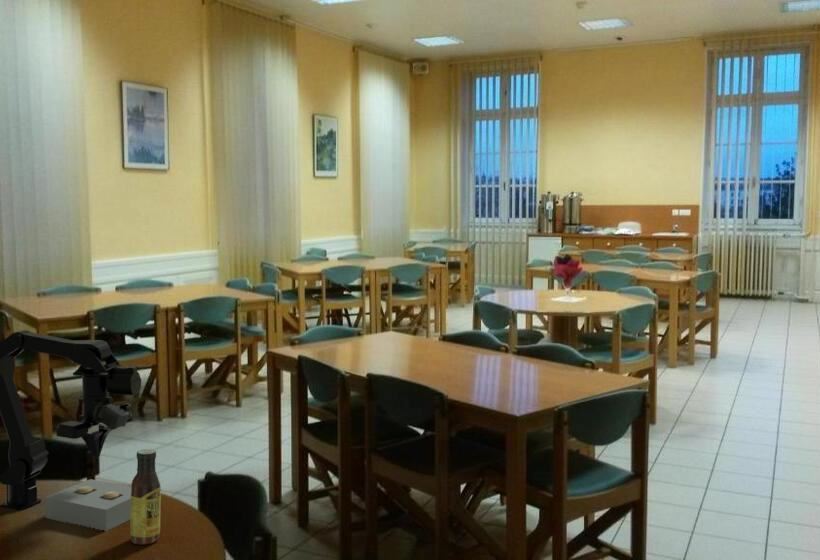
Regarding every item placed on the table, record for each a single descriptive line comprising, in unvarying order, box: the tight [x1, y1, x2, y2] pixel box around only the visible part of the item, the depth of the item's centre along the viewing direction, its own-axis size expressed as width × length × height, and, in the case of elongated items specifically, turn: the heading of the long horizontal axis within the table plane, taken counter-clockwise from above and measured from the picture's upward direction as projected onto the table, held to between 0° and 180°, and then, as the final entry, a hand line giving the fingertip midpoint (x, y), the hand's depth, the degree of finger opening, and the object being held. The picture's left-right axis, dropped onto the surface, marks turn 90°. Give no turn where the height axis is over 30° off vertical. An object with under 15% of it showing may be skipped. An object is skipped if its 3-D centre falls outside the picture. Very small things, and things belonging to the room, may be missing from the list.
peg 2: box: [103, 492, 119, 500], centre depth 184 cm, size 4×4×6 cm
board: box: [45, 478, 131, 532], centre depth 186 cm, size 18×14×5 cm
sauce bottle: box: [129, 448, 162, 546], centre depth 171 cm, size 6×6×20 cm
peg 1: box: [77, 486, 93, 495], centre depth 187 cm, size 4×4×6 cm
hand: (96, 457), depth 188 cm, fingers closed
